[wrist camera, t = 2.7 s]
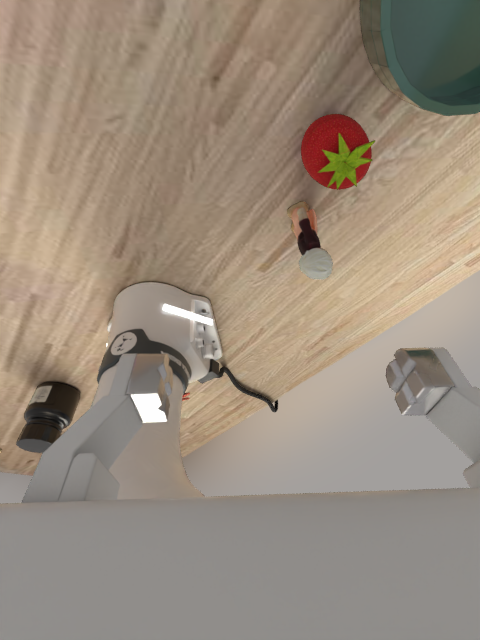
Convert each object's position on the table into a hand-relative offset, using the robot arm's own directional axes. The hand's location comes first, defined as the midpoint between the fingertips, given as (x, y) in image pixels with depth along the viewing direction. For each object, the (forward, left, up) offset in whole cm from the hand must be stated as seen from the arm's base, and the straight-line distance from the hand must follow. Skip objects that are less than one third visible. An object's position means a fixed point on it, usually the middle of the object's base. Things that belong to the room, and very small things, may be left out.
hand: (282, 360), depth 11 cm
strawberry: (-3, -8, -31) cm, 32 cm away
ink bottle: (-35, +54, -31) cm, 71 cm away
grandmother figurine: (-11, -4, -31) cm, 33 cm away
